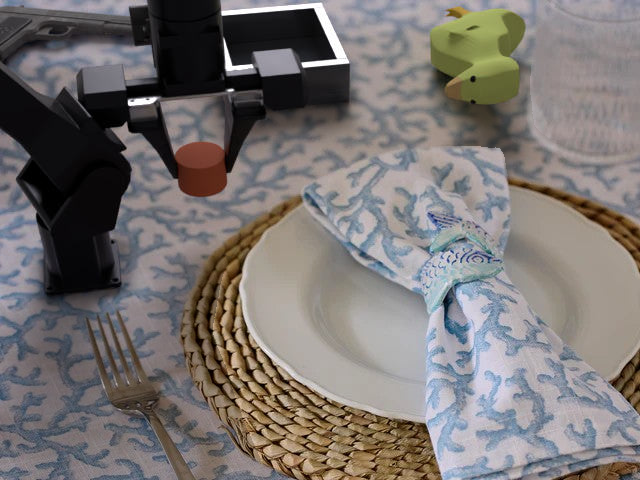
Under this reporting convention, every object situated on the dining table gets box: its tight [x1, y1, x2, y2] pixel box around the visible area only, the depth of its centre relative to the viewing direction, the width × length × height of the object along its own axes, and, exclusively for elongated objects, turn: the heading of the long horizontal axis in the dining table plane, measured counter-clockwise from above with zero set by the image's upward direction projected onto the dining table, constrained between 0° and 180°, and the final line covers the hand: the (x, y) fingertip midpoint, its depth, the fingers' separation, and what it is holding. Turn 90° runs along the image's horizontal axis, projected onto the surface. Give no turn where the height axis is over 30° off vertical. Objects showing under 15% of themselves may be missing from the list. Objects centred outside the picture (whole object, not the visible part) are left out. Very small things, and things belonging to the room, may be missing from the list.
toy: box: [429, 6, 527, 105], centre depth 114 cm, size 6×17×20 cm
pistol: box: [0, 4, 133, 63], centre depth 119 cm, size 2×18×12 cm
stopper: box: [174, 141, 228, 198], centre depth 90 cm, size 4×4×3 cm
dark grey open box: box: [221, 2, 351, 110], centre depth 114 cm, size 15×14×4 cm
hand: (202, 173), depth 91 cm, fingers closed on stopper, 4 cm apart
